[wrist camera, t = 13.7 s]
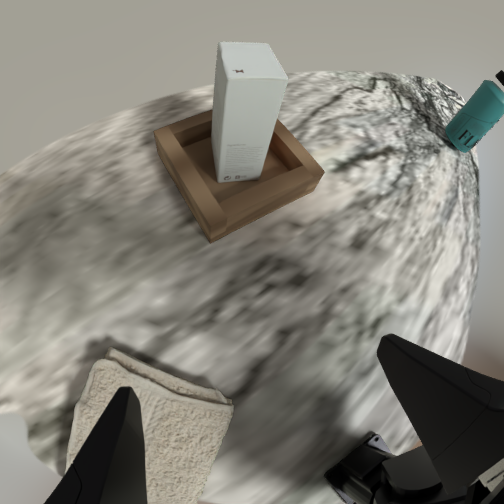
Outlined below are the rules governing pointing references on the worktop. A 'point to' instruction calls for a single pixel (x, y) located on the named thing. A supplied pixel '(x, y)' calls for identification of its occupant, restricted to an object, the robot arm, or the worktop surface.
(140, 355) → the worktop surface
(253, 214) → the walnut holder
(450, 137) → the beverage bottle
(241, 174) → the skincare box
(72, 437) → the washcloth
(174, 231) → the worktop surface
